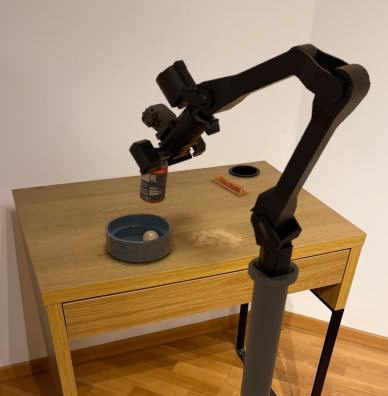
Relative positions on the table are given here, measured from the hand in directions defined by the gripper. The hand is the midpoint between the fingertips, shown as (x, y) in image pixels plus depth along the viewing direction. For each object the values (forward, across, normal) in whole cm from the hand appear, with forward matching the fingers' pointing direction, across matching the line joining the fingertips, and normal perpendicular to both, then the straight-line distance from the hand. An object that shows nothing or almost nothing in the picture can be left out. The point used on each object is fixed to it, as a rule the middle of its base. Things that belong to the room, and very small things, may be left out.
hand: (150, 169), depth 112 cm
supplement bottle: (+5, 0, +5) cm, 7 cm away
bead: (0, +10, +14) cm, 17 cm away
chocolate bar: (+9, -31, +9) cm, 33 cm away
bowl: (+4, +12, +14) cm, 19 cm away
